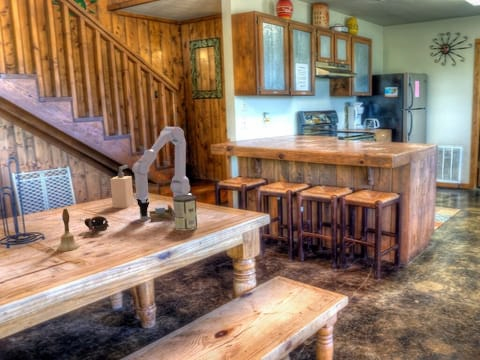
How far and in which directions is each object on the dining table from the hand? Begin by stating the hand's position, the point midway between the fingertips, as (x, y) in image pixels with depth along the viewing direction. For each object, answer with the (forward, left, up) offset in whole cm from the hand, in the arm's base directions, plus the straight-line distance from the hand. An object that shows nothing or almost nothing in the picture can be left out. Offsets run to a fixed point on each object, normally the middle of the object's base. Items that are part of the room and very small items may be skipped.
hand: (143, 214), depth 215 cm
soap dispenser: (+8, -37, -3) cm, 38 cm away
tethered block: (-4, 0, -3) cm, 5 cm away
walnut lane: (-8, 0, -3) cm, 9 cm away
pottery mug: (+21, +14, -3) cm, 26 cm away
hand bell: (+32, +33, -3) cm, 46 cm away
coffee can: (-17, +22, -3) cm, 28 cm away
